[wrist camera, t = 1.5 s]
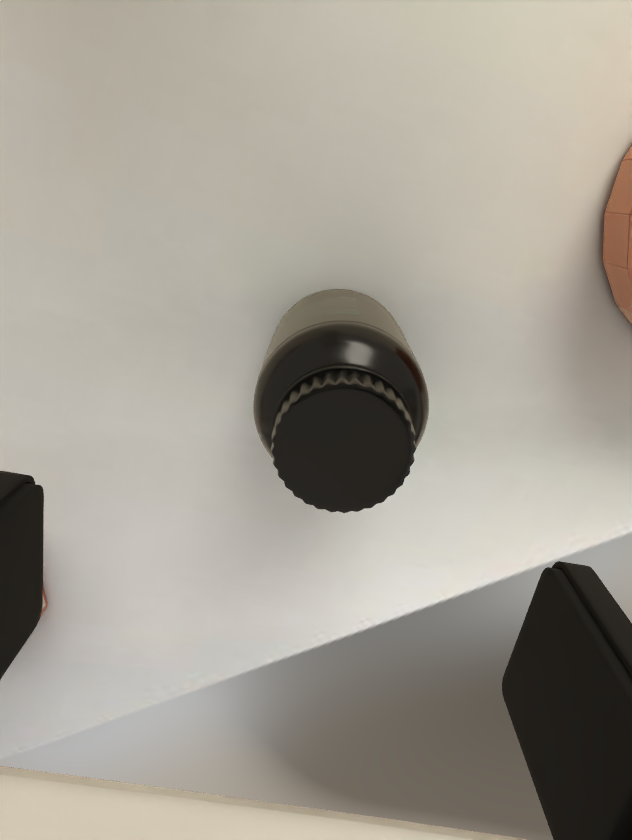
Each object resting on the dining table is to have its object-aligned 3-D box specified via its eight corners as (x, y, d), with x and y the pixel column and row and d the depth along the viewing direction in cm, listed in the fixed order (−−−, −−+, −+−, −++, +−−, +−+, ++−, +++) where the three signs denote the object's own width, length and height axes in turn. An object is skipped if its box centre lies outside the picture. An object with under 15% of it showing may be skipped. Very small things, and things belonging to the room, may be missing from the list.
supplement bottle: (407, 406, 31) (452, 528, 20) (282, 421, 32) (258, 549, 21) (397, 278, 29) (442, 336, 18) (261, 296, 29) (221, 364, 18)
